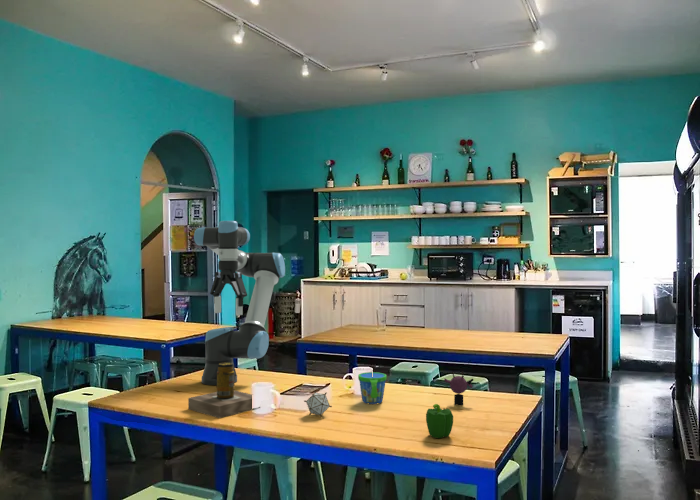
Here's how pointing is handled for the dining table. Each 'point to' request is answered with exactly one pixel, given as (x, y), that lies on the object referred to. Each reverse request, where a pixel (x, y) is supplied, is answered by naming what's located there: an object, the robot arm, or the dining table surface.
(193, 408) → the block
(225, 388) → the condiment
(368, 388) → the snack cup
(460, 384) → the figurine
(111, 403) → the dining table surface
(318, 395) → the game die
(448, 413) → the bell pepper
